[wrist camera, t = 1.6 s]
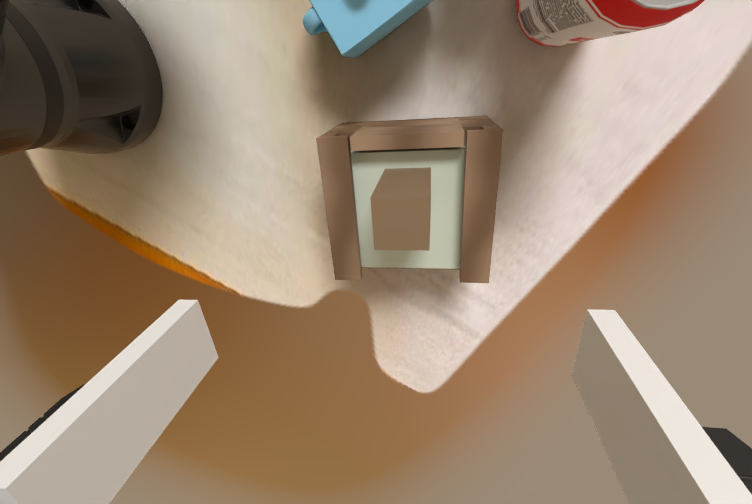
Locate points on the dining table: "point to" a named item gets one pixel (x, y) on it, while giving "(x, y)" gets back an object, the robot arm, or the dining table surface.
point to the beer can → (594, 18)
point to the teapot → (359, 21)
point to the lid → (409, 206)
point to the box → (413, 134)
